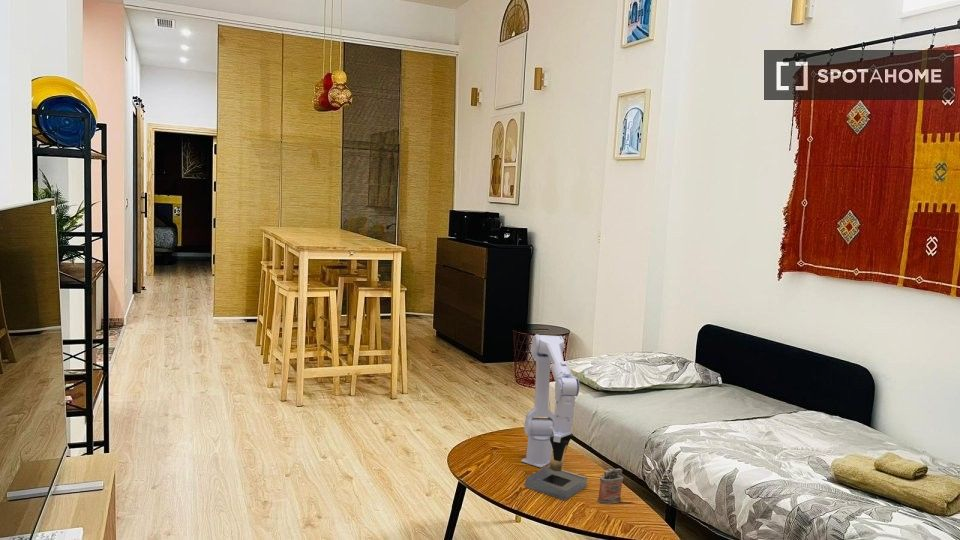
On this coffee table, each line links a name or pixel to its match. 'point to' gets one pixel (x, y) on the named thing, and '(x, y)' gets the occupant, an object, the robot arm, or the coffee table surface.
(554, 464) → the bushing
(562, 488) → the jig
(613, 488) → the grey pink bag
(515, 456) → the coffee table surface
